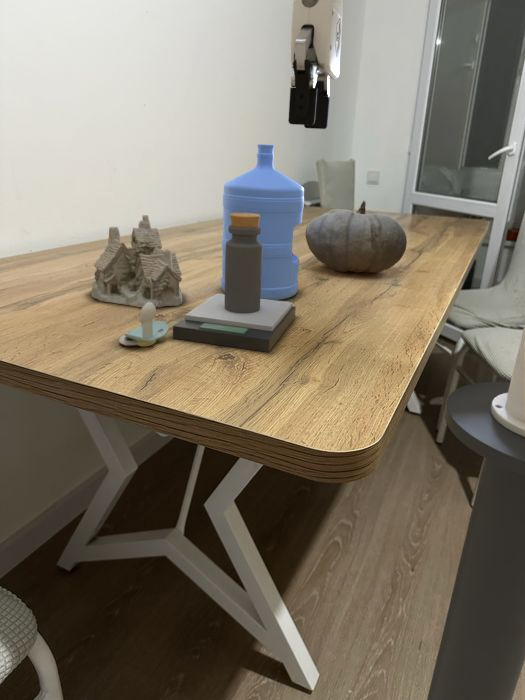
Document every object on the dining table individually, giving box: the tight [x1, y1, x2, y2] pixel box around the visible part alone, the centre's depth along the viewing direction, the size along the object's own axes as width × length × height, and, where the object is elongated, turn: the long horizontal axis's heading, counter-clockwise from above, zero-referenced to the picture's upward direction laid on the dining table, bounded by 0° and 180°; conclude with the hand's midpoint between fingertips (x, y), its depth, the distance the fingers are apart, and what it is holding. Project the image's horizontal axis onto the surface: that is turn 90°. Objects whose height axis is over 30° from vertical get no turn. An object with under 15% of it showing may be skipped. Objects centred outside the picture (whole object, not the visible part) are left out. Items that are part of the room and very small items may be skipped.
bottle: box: [224, 213, 263, 313], centre depth 82 cm, size 6×6×15 cm
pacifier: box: [118, 302, 169, 347], centre depth 75 cm, size 7×6×6 cm
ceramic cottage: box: [90, 214, 184, 309], centre depth 95 cm, size 16×16×15 cm
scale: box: [172, 293, 297, 353], centre depth 84 cm, size 15×18×3 cm
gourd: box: [304, 200, 408, 274], centre depth 128 cm, size 25×25×17 cm
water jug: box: [220, 143, 305, 301], centre depth 101 cm, size 16×16×28 cm
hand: (308, 126), depth 67 cm, fingers open, 9 cm apart
